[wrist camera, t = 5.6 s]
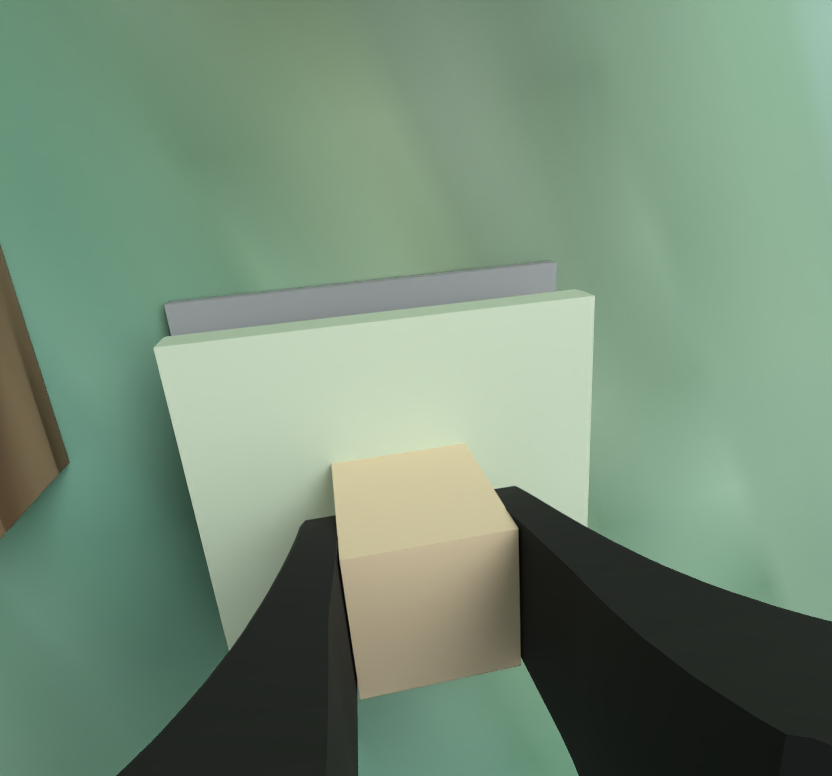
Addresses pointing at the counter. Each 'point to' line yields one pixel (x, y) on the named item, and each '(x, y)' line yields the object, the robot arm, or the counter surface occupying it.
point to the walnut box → (23, 415)
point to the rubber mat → (358, 297)
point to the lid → (388, 465)
